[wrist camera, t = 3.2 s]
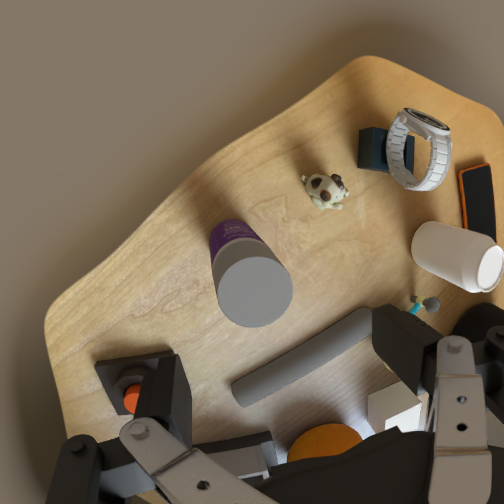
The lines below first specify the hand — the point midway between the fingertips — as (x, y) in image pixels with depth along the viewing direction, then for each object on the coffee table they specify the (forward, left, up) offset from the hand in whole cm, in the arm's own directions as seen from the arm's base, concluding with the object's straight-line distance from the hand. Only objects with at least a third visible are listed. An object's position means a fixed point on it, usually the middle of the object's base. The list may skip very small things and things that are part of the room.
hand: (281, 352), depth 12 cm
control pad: (-14, -15, -22) cm, 30 cm away
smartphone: (+35, -4, -22) cm, 41 cm away
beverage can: (+24, -5, -22) cm, 33 cm away
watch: (+18, +7, -22) cm, 29 cm away
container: (0, 0, -22) cm, 22 cm away
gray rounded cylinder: (+6, -16, -22) cm, 28 cm away
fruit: (+7, -33, -22) cm, 40 cm away
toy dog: (+10, +4, -22) cm, 24 cm away
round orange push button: (-14, -15, -19) cm, 28 cm away
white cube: (+18, -29, -22) cm, 40 cm away
